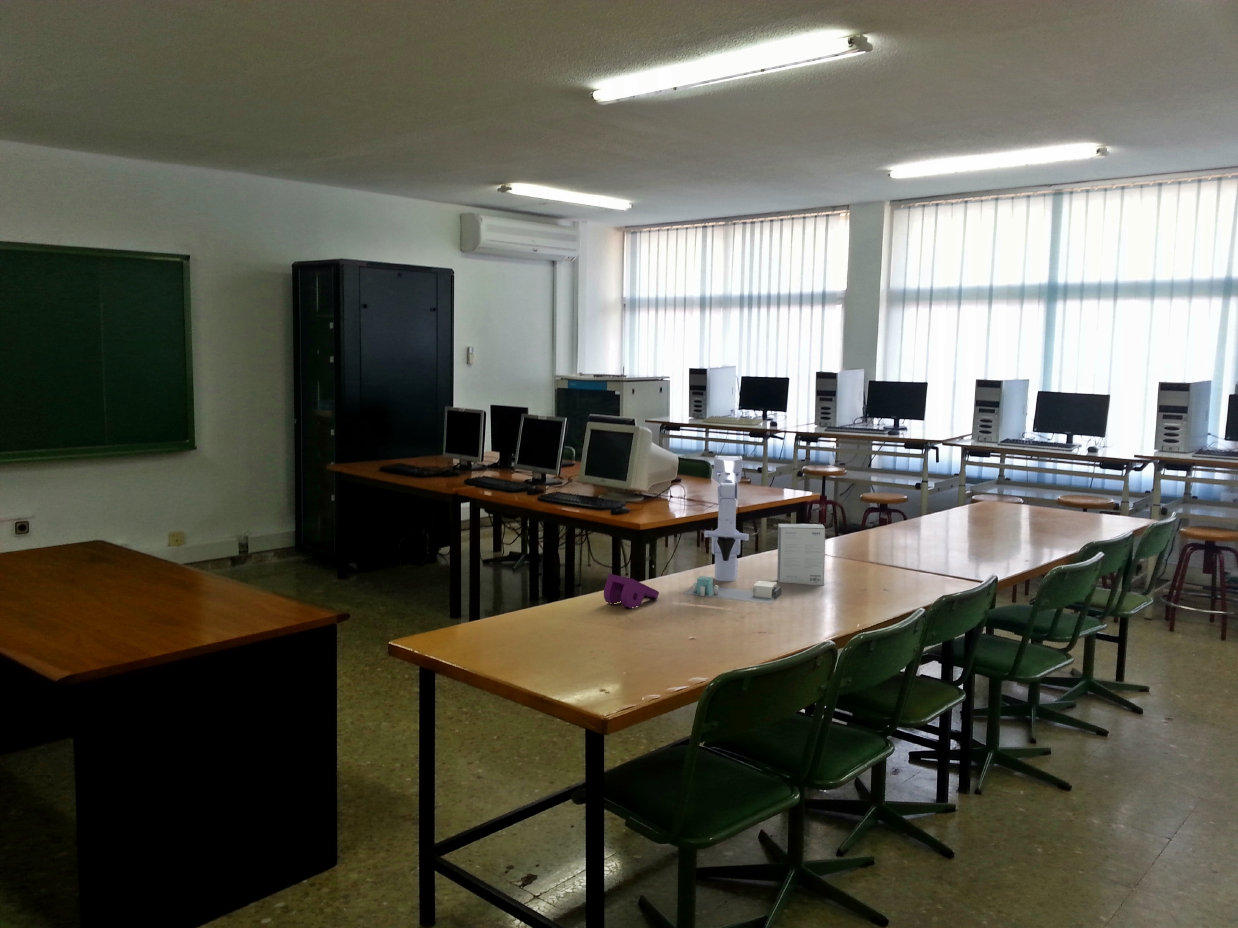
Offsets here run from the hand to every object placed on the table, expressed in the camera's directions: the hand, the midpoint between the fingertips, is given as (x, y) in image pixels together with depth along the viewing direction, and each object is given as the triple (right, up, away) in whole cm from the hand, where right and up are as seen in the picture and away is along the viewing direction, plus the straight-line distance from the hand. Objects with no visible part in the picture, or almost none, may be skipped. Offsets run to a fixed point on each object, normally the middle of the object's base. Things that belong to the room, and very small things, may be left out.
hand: (725, 560), depth 306 cm
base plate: (+2, -11, -5) cm, 12 cm away
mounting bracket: (-30, -12, -14) cm, 35 cm away
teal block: (-7, -10, -5) cm, 13 cm away
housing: (+12, -10, -5) cm, 17 cm away
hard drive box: (+27, -9, +15) cm, 32 cm away
